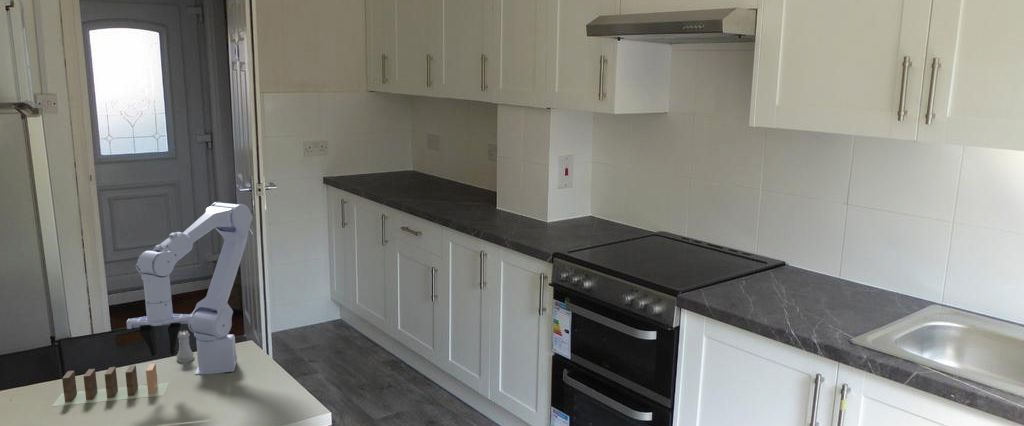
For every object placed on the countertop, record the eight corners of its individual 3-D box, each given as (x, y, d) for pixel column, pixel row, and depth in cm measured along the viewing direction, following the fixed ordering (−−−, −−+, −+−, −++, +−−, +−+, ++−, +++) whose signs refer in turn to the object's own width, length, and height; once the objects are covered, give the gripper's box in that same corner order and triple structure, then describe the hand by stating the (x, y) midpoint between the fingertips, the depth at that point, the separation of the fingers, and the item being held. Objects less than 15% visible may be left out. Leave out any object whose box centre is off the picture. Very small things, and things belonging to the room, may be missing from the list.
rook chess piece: (197, 357, 207) (194, 329, 205) (190, 363, 202) (188, 334, 201) (180, 357, 207) (178, 329, 205) (173, 363, 202) (171, 335, 201)
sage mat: (169, 383, 189) (169, 382, 189) (163, 396, 182) (163, 395, 182) (62, 394, 183) (62, 392, 183) (51, 407, 176) (51, 406, 176)
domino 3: (117, 390, 185) (115, 366, 184) (113, 397, 181) (111, 373, 180) (111, 390, 185) (109, 367, 183) (107, 398, 180) (104, 374, 179)
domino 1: (77, 394, 183) (74, 370, 182) (71, 401, 178) (68, 377, 177) (70, 394, 182) (67, 371, 181) (64, 402, 178) (62, 378, 177)
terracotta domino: (157, 386, 187) (155, 363, 186) (154, 393, 183) (152, 370, 182) (151, 386, 187) (149, 363, 186) (148, 394, 183) (145, 370, 181)
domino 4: (138, 388, 186) (135, 365, 185) (134, 395, 182) (131, 372, 181) (131, 388, 186) (129, 365, 185) (127, 396, 181) (125, 372, 180)
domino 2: (97, 392, 184) (95, 368, 183) (92, 399, 180) (90, 375, 178) (91, 392, 183) (88, 369, 182) (86, 400, 179) (83, 376, 178)
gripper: (121, 307, 176) (127, 362, 178) (188, 302, 179) (192, 357, 182) (128, 298, 183) (133, 351, 185) (192, 294, 186) (197, 346, 189)
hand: (163, 353), depth 184 cm, fingers open, 4 cm apart
